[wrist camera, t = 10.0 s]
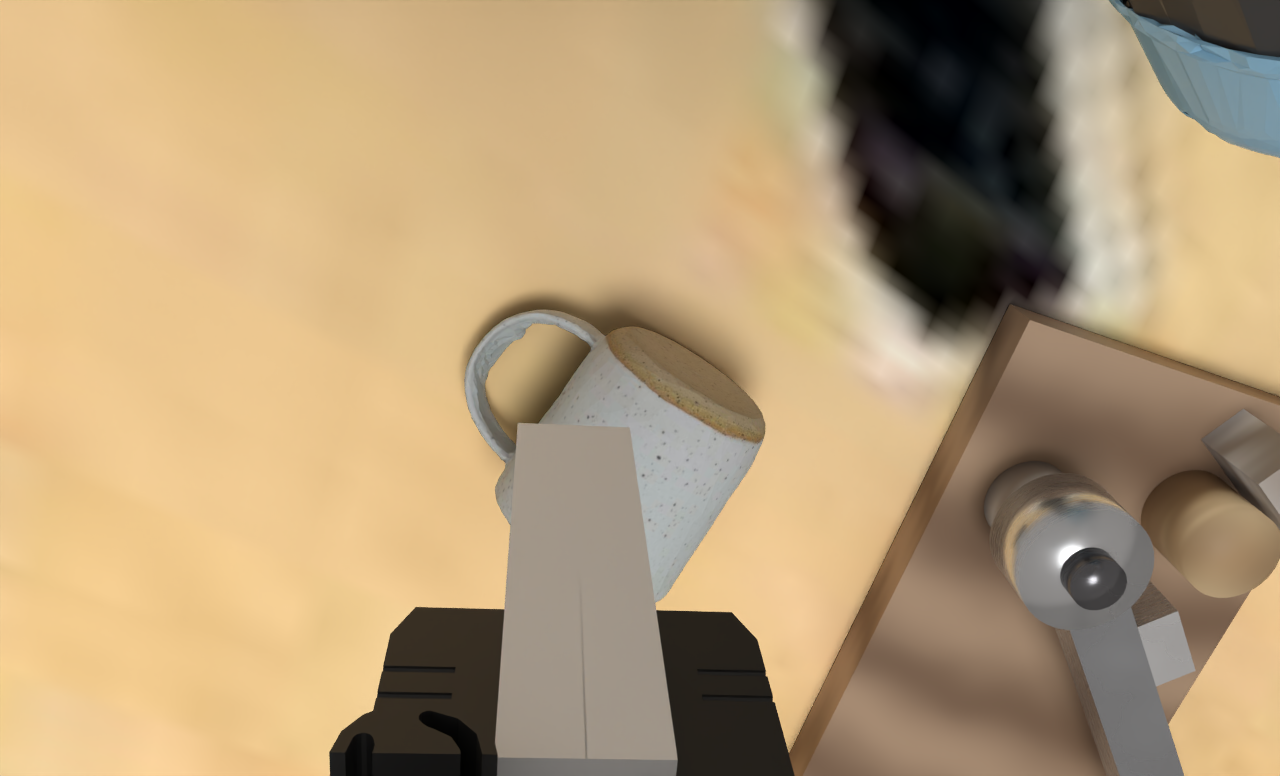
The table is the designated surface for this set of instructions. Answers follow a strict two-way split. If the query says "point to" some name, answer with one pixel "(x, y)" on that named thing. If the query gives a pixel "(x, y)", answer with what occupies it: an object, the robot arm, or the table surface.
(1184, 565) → the tan wooden cylinder
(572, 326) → the ceramic mug
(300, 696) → the table surface
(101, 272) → the table surface
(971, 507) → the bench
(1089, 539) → the lever
